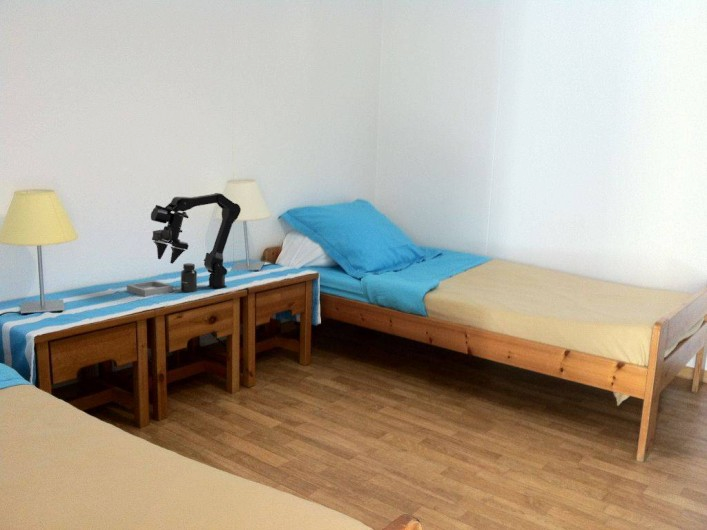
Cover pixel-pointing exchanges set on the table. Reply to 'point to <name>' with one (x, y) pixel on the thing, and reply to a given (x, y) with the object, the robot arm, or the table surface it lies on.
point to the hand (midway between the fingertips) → (165, 261)
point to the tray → (149, 288)
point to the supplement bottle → (188, 278)
